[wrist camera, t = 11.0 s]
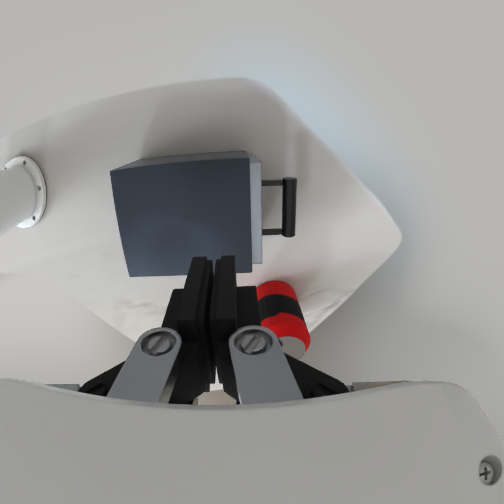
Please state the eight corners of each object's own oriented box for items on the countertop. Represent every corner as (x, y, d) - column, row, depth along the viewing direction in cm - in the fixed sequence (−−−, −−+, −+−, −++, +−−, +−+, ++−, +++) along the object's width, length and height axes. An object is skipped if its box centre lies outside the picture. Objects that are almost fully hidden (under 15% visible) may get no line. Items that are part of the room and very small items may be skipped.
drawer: (288, 155, 34) (302, 162, 27) (287, 236, 39) (298, 261, 32) (152, 162, 33) (132, 172, 26) (162, 242, 38) (147, 268, 31)
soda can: (277, 270, 42) (291, 320, 31) (304, 300, 45) (322, 351, 34) (239, 298, 44) (242, 351, 33) (268, 324, 47) (277, 377, 36)
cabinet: (245, 150, 34) (249, 157, 26) (248, 239, 40) (252, 272, 31) (138, 159, 34) (109, 171, 25) (150, 244, 39) (129, 276, 30)
